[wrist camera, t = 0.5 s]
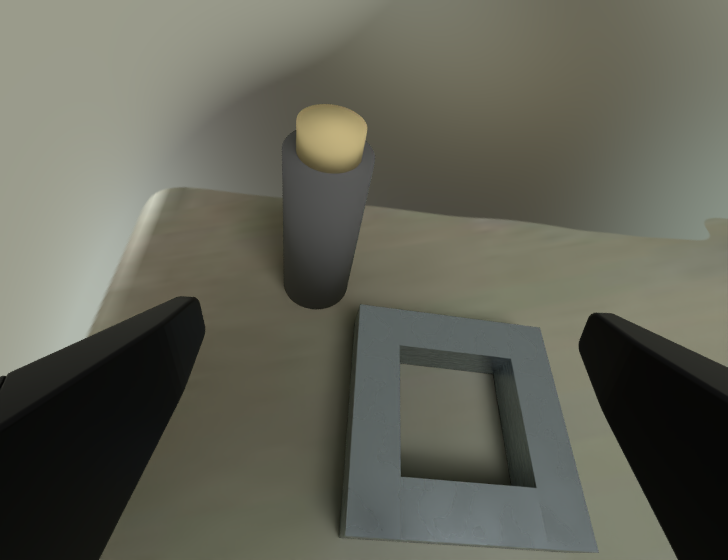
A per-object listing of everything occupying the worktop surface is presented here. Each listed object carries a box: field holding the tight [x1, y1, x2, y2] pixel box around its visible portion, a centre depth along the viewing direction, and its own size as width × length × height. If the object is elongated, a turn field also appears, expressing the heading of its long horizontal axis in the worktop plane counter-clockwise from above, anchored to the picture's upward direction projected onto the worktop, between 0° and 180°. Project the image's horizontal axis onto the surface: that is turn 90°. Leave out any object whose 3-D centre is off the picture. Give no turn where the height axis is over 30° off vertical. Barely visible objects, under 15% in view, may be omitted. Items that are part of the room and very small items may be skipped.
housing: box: [339, 304, 599, 553], centre depth 22 cm, size 12×12×2 cm
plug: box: [282, 104, 375, 309], centre depth 22 cm, size 4×4×12 cm
